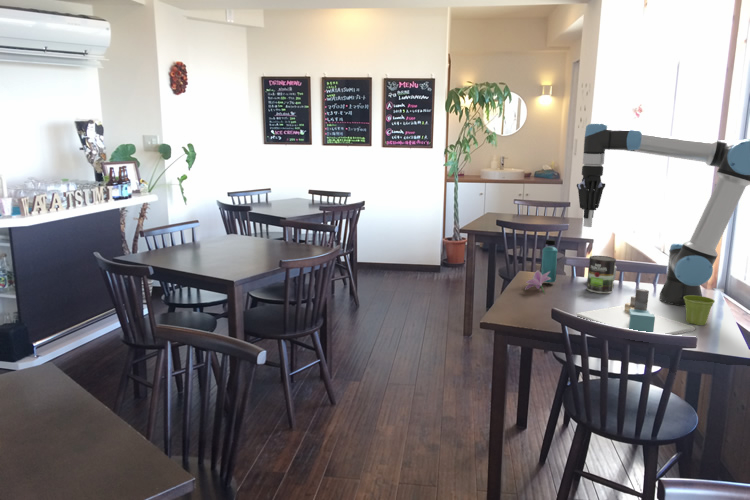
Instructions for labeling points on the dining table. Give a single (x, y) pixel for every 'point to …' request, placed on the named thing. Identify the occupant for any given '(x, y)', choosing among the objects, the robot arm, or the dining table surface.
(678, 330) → the base board
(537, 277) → the lily
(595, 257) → the coffee can
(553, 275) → the beverage bottle
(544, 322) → the dining table surface
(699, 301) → the plant pot
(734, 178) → the robot arm
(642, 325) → the block
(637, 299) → the link
